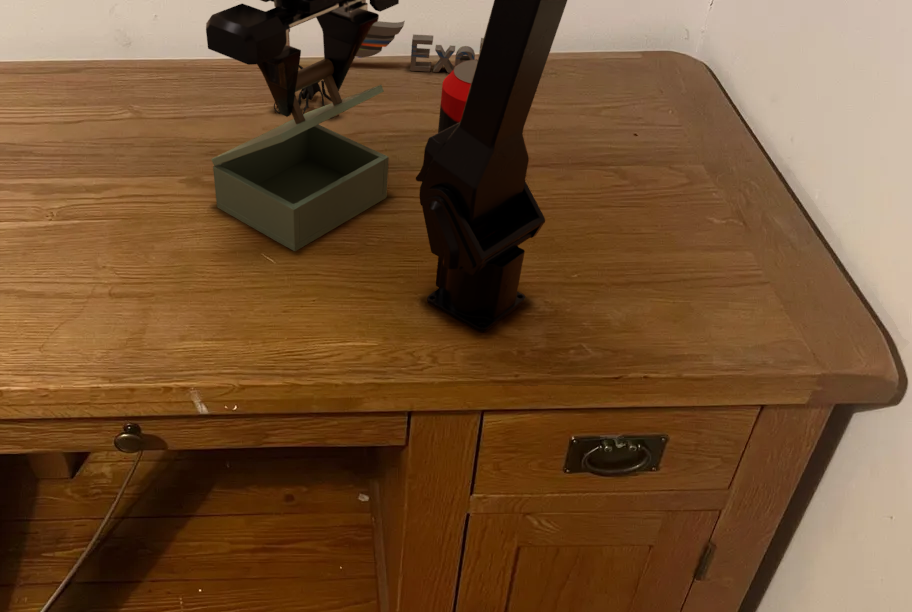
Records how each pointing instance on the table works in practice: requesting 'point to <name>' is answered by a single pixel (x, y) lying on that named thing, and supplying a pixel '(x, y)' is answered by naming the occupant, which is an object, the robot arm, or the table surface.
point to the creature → (311, 94)
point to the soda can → (455, 94)
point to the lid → (301, 121)
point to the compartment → (302, 185)
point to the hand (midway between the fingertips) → (309, 103)
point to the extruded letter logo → (413, 47)
